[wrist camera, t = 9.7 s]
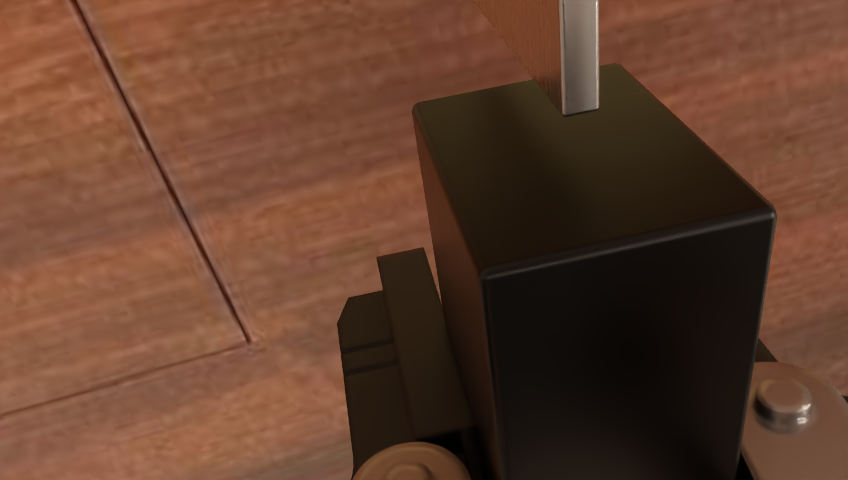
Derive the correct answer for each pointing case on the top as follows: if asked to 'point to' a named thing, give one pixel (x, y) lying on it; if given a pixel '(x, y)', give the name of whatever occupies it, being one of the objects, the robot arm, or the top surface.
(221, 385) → the top surface
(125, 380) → the top surface
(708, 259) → the knife
